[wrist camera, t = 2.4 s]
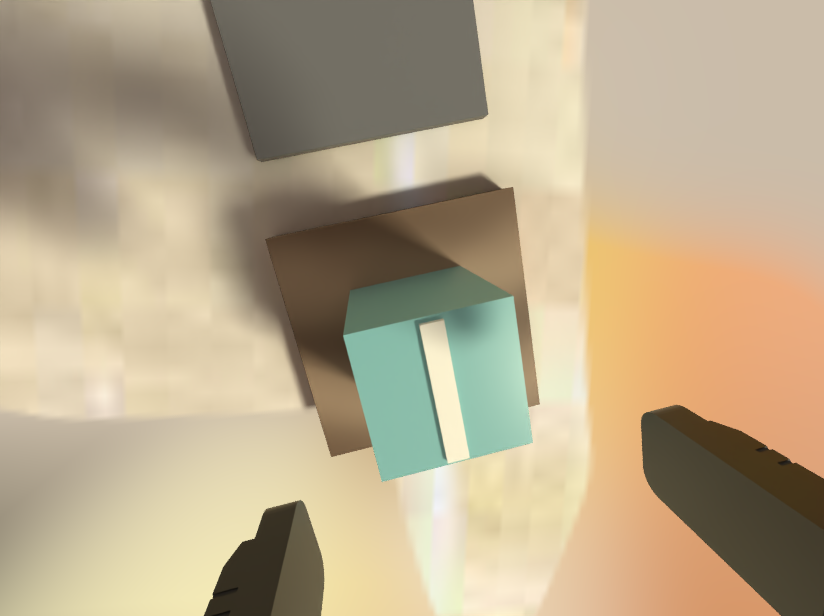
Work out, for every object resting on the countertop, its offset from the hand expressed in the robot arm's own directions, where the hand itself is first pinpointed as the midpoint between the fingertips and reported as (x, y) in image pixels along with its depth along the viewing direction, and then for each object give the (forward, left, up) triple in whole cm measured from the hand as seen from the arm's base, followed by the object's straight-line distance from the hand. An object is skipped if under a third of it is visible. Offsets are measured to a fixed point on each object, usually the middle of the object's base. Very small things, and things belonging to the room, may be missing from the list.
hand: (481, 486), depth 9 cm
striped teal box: (0, 0, -11) cm, 11 cm away
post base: (0, 0, -13) cm, 13 cm away
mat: (-15, 0, -13) cm, 20 cm away
